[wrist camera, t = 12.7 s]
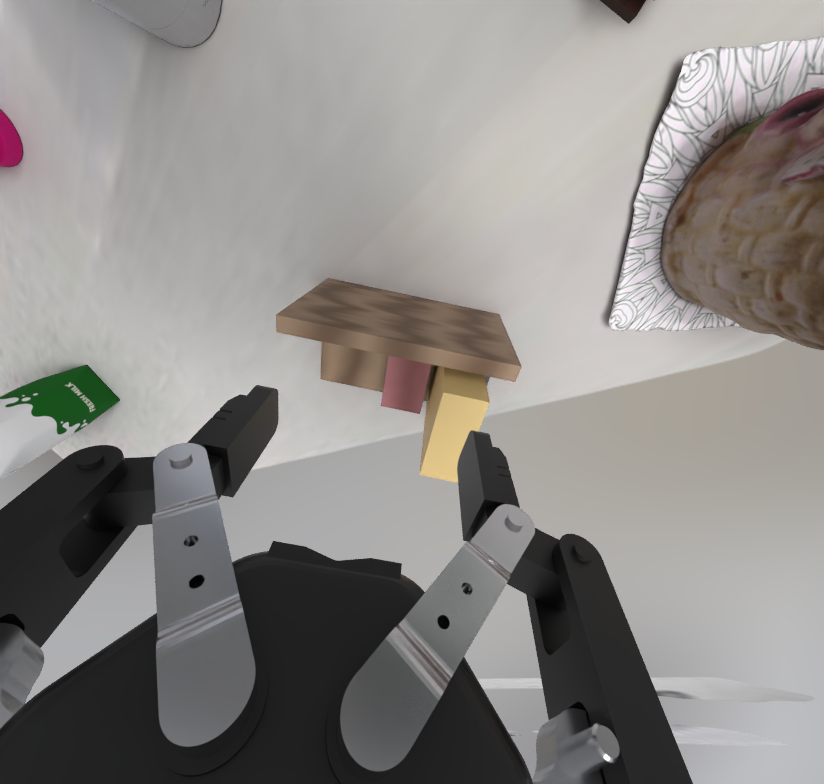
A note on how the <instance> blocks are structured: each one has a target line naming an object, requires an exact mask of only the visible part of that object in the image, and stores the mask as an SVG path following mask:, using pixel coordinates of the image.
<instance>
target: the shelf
mask: <svg viewBox="0 0 824 784" xmlns="http://www.w3.org/2000/svg"><path fill="white" fill-rule="evenodd" d="M276 328H277V332H279V333H284V334H289V335H293V336H298V337H303V338H308V339H312V340H317V341H322V355H321V379H322V380H327V381H332V382H337V383H342V384H347V385H351V386H356V387H361V388H366V389H371V390H376V391H380V392H383V396H382V402H381V406H384V407H389V408H394V409H399V410H404V411H409V412H413V413H418V414H420V411H421V407H422V402H423V400H424V401H427V396H428V390H429V386H430V382H431V378H432V374H433V370H434V366H435V365H437V366H442V367H446V368H451V369H456V370H461V371H465V372H470V373H475V374H480V375H484V377H485V382H486V386H487V383H488V381H489V378H490V377H494V378H499V379H504V380H509V381H513V382H515V381H516V379H517V376H518V374H519V371H520V369H521V367H522V366H521V364H520V362H519V359H518V357H517V355H516V352H515V350H514V348H513V345H512V343H511V341H510V338H509V336H508V334H507V331H506V329H505V327H504V324H503V322H502V320H501V317H500V315H499V314H494V313H489V312H485V311H480V310H475V309H471V308H466V307H461V306H457V305H452V304H447V303H442V302H438V301H433V300H428V299H424V298H419V297H414V296H409V295H405V294H400V293H395V292H391V291H386V290H381V289H376V288H372V287H367V286H362V285H358V284H353V283H348V282H344V281H339V280H334V279H329V278H328V279H326V280H325V281H324V282H322V283H321V284H319V285H318V286H316V287H315V288H314V289H312V290H311V291H309V292H308V293H306V294H305V295H304V296H302V297H301V298H299V299H298V300H297V301H295V302H294V303H292V304H291V305H289V306H288V307H287V308H285V309H284V310H282V311H281V312H280V313H278V314H277V315H276Z"/></svg>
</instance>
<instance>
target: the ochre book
mask: <svg viewBox="0 0 824 784" xmlns="http://www.w3.org/2000/svg"><path fill="white" fill-rule="evenodd" d="M489 403H490V402H489V397H488V392H487V387H486V382H485V377H484V375H480V374H475V373H470V372H465V371H461V370H456V369H451V368H446V367H442V366H437V365H435V366H434V370H433V374H432V378H431V382H430V386H429V390H428V396H427V406H426V416H425V426H424V436H423V446H422V456H421V465H420V475H423V476H428V477H433V478H438V479H442V480H447V481H452V482H457V483H458V474H457V465H458V460H459V456H460V454H461V451H462V449H463V446H464V444H465V441H466V439H467V436H468V434H469V432H470V431H471V430H473V431H479V428H480V426H481V423H482V421H483V418H484V415H485V413H486V410H487V408H488V405H489Z"/></svg>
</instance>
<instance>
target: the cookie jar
mask: <svg viewBox="0 0 824 784" xmlns="http://www.w3.org/2000/svg"><path fill="white" fill-rule="evenodd" d="M633 206H634V209H635V211H634V214H633V222H632V227H631V232H630V236H629V240H628V244H627V248H626V252H625V256H624V261H623V265H622V269H621V274H620V278H619V283H618V287H617V291H616V295H615V299H614V303H613V307H612V311H611V314H610V318H609V326H610V328H611V329H612V330H620V331H628V330H635V331H646V332H647V331H650V330H653V329H663V330H666V331H671V330H674V331H679V330H693V329H700V328H708V327H713V328H718V327H725V326H737V327H743V328H746V329H748V330H752V331H754V332H758V333H765V334H774V335H778V336H780V337H782V338H785V339H788V340H790V341H792V342H796V343H798V344H800V345H803V346H807V347H810V348H814V349H820V350H824V36H822V37H817V38H814V39H810V40H800V41H794V40H791V41H776V42H771V43H766V44H761V45H758V46H756V47H750V46H748V47H741V48H737V47H733V48H724V47H717V48H710V49H704V50H702V51H699V52H694V53H691V54H689V55H687V56H686V57H685V58H684V62H683V66H682V70H681V73H680V75H679V78H678V80H677V83H676V85H675V88H674V91H673V94H672V97H671V100H670V102H669V105H668V106H667V108H666V109H665V112H664V114H663V116H662V118H661V121H660V123H659V125H658V128H657V130H656V133H655V135H654V138H653V141H652V144H651V149H650V154H649V158H648V161H647V163H646V165H645V168H644V177H643V180H642V182H641V184H640V187H639V190H638V193H637V196H636V199H635V202H634V205H633Z"/></svg>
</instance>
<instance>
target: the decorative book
mask: <svg viewBox="0 0 824 784" xmlns="http://www.w3.org/2000/svg"><path fill="white" fill-rule="evenodd" d="M600 1H602V2H603V3H604V4H605V5H606V6H608V7H609V8H610V9H611V10H613V11H614V12H615V13H616V14H617V15H619V16H620V17H621V18H622V19H624V20H625V21H626V22H627V23H630V22H631V21H632V20H633V19H634V18H635V17H636V16H637V14H638V12H639V11H640V9H641V7H642V6H643V4H644V3H645V1H646V0H600Z"/></svg>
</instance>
